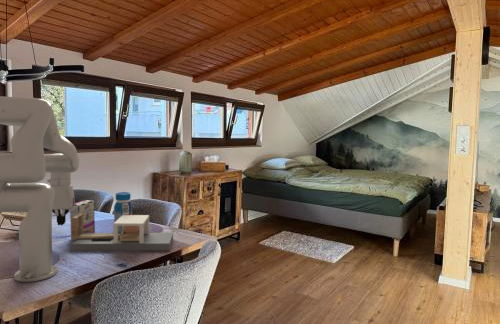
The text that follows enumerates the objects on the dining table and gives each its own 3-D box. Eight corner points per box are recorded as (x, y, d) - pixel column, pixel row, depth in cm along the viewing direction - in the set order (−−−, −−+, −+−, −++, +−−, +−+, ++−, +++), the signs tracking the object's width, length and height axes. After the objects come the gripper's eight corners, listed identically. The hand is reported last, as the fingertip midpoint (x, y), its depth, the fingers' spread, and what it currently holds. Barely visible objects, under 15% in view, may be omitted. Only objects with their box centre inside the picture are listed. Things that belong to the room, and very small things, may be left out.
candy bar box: (86, 233, 168) (85, 199, 167) (95, 233, 167) (95, 200, 166) (69, 239, 157) (69, 204, 156) (79, 240, 156) (79, 204, 155)
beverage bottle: (110, 235, 165) (110, 194, 164) (118, 230, 174) (118, 191, 172) (128, 236, 165) (128, 195, 163) (134, 231, 173) (134, 192, 172)
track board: (169, 250, 148) (169, 223, 147) (70, 251, 143) (70, 223, 142) (173, 238, 163) (173, 214, 162) (84, 239, 159) (84, 214, 158)
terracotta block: (136, 236, 151) (136, 225, 151) (125, 236, 150) (125, 225, 150) (139, 233, 156) (139, 222, 155) (127, 233, 155) (127, 222, 155)
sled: (139, 240, 149) (139, 219, 148) (70, 240, 145) (70, 218, 145) (143, 233, 159) (143, 213, 158) (79, 234, 155) (79, 213, 155)
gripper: (37, 183, 143) (38, 226, 145) (75, 183, 145) (76, 226, 146) (46, 180, 150) (46, 222, 152) (82, 181, 152) (82, 222, 154)
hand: (61, 224), depth 149 cm, fingers closed
